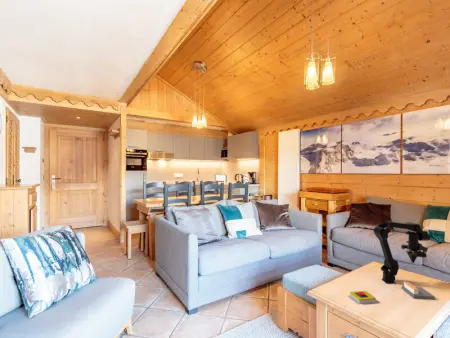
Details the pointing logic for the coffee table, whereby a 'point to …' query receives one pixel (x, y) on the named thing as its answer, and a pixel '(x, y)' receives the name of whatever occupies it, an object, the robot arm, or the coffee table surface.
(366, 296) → the emergency button
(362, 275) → the coffee table surface
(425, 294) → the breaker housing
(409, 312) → the coffee table surface
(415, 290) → the knob
